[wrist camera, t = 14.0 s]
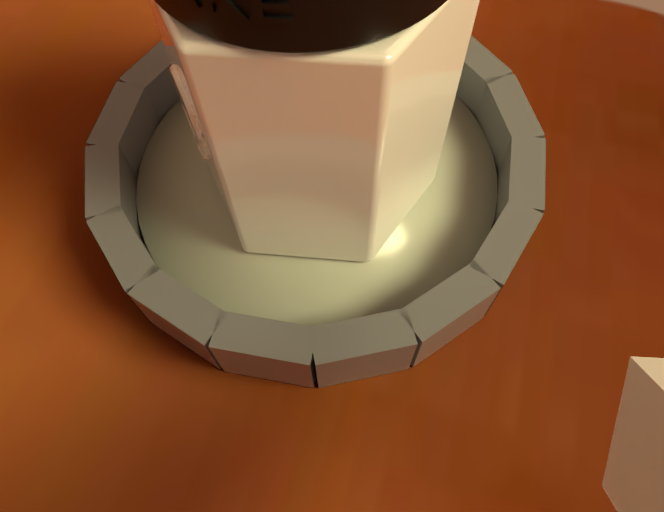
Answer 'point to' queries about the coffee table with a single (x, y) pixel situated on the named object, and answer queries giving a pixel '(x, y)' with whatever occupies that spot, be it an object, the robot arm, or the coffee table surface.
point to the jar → (317, 111)
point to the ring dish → (304, 272)
